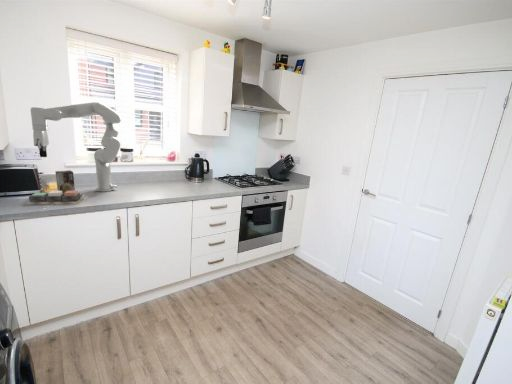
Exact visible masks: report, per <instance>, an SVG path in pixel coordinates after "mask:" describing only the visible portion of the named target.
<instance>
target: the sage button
mask: <svg viewBox="0 0 512 384" xmlns="http://www.w3.org/2000/svg"><path fill="white" fill-rule="evenodd" d="M46 194H47V192H35V193H32V194H31V195H32V196H45V195H46Z"/></svg>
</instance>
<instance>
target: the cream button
mask: <svg viewBox="0 0 512 384" xmlns="http://www.w3.org/2000/svg"><path fill="white" fill-rule="evenodd" d="M62 194H63V192H62V191H58V190H50V191H49V192H48V196H61V195H62Z"/></svg>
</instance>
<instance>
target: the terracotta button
mask: <svg viewBox="0 0 512 384" xmlns="http://www.w3.org/2000/svg"><path fill="white" fill-rule="evenodd" d="M78 193H79V191H78V190H75V191H66V192H65V193H64V195H65V196H76V195H77V194H78Z"/></svg>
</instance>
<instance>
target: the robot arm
mask: <svg viewBox="0 0 512 384" xmlns="http://www.w3.org/2000/svg"><path fill="white" fill-rule="evenodd" d="M91 116H100V117H102V119H103V121H104V123H105V131H104V133H103V136H102V138H101V141H100V143H101V146H102V147H103V148H99V149H97V150H95V151H94V154H93V157H94V162H95V170H96V172H95V173H96V187H95V188H94V190H95V191H96V192H110V191H114V188H115V189H117V188H118V187H119V186H118V185H116V184H113V183H112V175H111V164H112V163H113V162H114V161H115V160H116V158H117V155H118V153H119V150H120V147H121V142H120V139H119V138H118V135H119V131H120V130H119V129H120V128H119V127H120V126H119V124H120V123H121V122H122V117H121V115H120V114H119V112H117V111H116V110H114V109H112V108H110V107H109V106H107V105H106V104H104V103H103V102H102V103H101V102H96V101H95V102H86V103H78V104H71V105H70V104H69V105H64V106H63V105H62V106H58V107H57V106H56V107H48V108H45V107H32V106H31V107H30V117H31V125H32V131H33V134H32V136H33V146H34V147H37V149H38V152H39V157H40V158H47V157H48V153H47V147H48V146H49V135H48V131H49V127H48V120H49V121H55V122H58V121H61V120H62V119H70V118H72V119H73V118H74V119H75V118H76V119H77V118H85V117H91Z"/></svg>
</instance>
